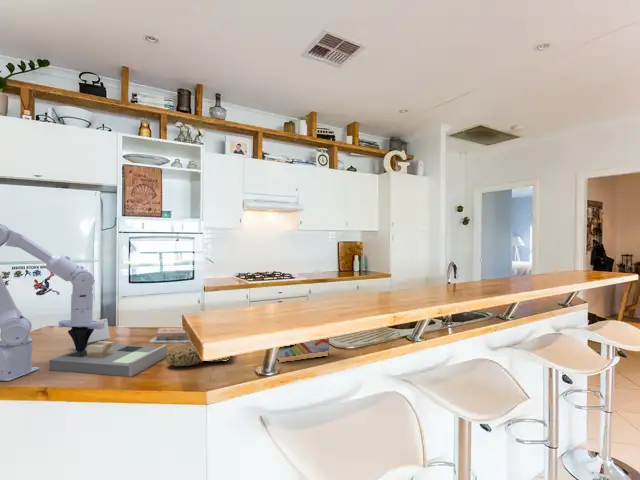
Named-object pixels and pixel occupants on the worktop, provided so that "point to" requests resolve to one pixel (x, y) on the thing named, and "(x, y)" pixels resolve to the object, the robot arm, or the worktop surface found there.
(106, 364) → the platform
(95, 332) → the supplement box
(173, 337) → the packaged product
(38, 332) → the worktop surface
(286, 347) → the cake pan box
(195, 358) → the sponge
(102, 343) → the block
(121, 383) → the worktop surface
